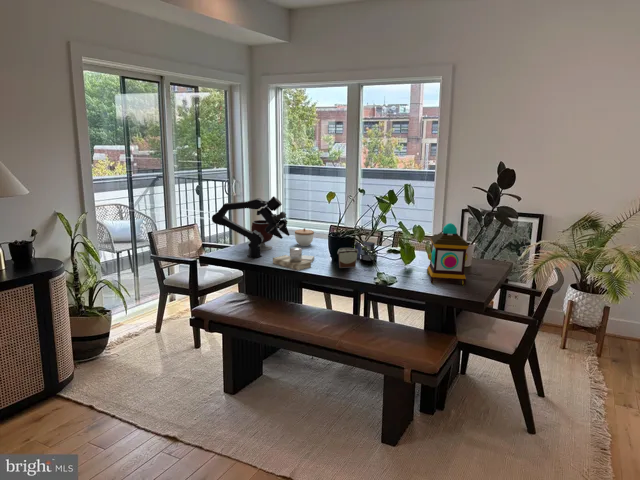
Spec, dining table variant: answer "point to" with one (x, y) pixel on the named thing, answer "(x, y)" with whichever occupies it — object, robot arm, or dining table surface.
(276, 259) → the plate
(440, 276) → the decorative lantern
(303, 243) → the lidded bowl
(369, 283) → the dining table surface
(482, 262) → the dining table surface
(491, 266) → the dining table surface
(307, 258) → the block
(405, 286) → the dining table surface
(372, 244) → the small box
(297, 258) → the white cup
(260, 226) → the mate gourd
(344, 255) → the food container
